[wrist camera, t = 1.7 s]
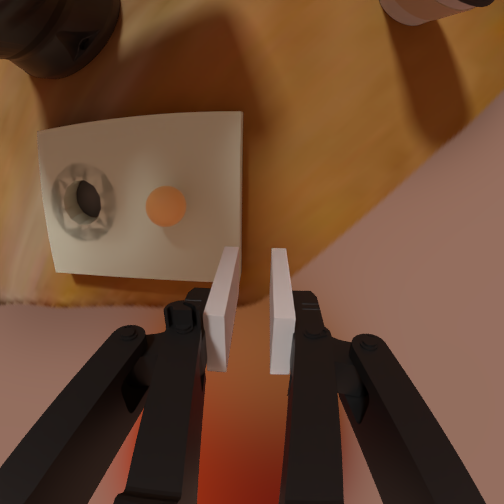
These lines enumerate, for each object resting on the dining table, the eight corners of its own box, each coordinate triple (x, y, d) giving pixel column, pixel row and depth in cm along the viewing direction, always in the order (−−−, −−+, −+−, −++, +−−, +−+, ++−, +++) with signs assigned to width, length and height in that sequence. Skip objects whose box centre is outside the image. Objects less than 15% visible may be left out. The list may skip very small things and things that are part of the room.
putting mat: (51, 129, 32) (37, 131, 29) (243, 112, 31) (241, 111, 28) (67, 262, 39) (56, 272, 36) (241, 271, 38) (239, 283, 35)
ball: (152, 182, 31) (137, 190, 28) (189, 181, 31) (179, 190, 28) (154, 219, 33) (141, 232, 29) (191, 220, 33) (181, 233, 29)
